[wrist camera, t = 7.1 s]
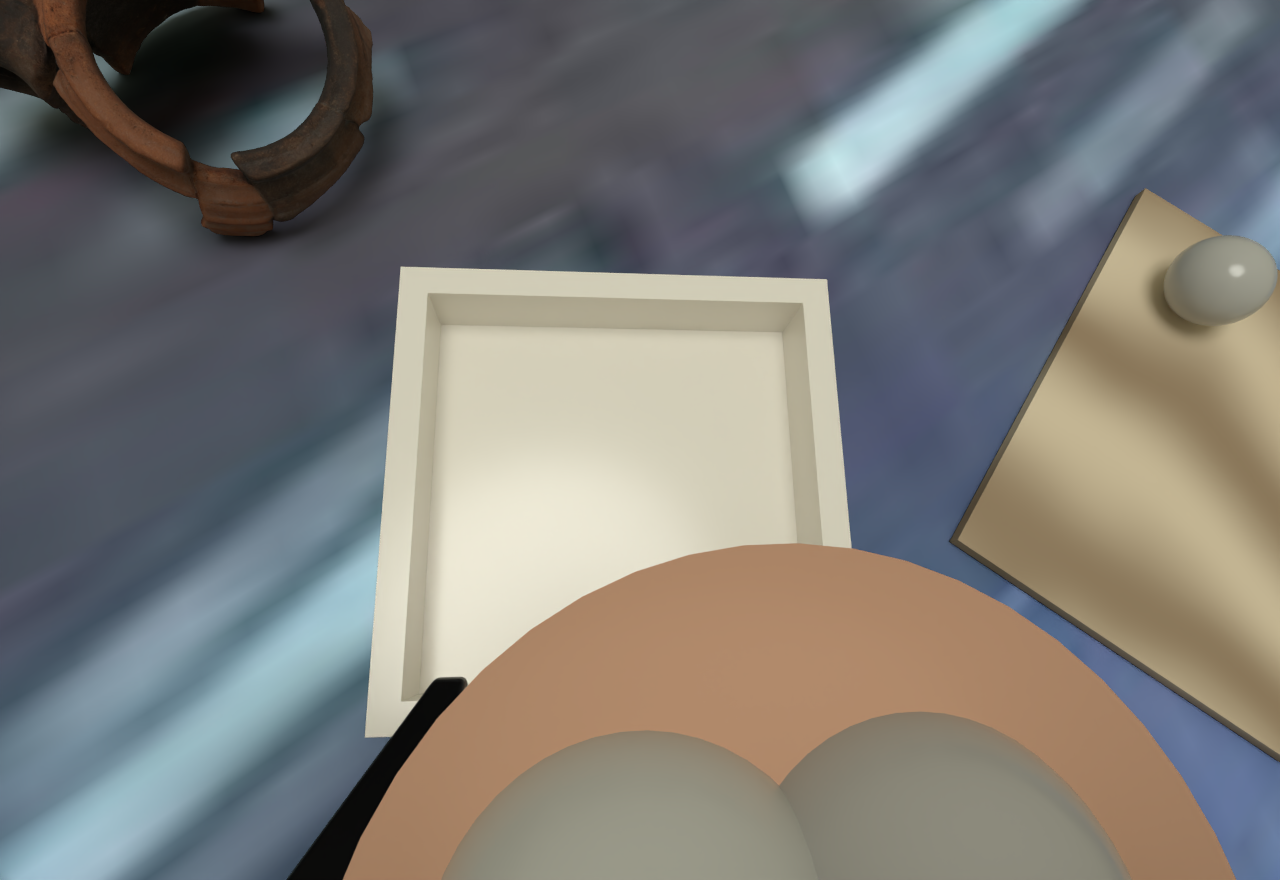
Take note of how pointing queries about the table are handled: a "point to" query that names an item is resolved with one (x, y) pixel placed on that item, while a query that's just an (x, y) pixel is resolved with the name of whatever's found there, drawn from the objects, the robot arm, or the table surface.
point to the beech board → (1152, 482)
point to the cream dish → (586, 449)
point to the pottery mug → (229, 198)
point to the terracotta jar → (788, 741)
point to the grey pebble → (1220, 280)
